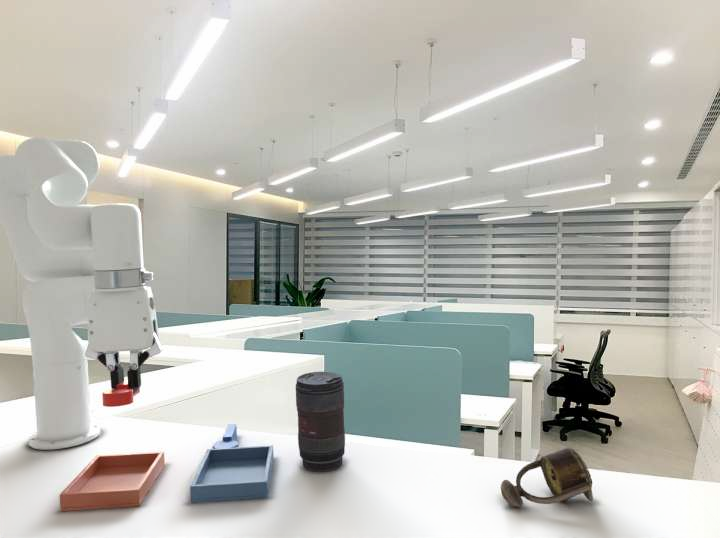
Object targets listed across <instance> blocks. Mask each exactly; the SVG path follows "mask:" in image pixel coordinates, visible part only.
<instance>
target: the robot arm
mask: <svg viewBox="0 0 720 538" xmlns="http://www.w3.org/2000/svg"><path fill="white" fill-rule="evenodd" d="M98 155H99V154H98V152H97V151H96V150H95V149H94V147H93V146H92V145H91V144H89V143H88V142H86V141H82V140H77V139H75V140H74V139H65V138H55V137H43V136H42V137H41V136H40V137H39V136H38V137H30V138H27V139H26V140H23V141H21V143H20V144H19V145H17V147H16V150H15V154H5V155H0V225H1V227H2V229H3V230H4V232H5V235H6V237H7V241H8V243H9V246H10V250H11V253H12V255H13V257H14V260H15V263H16V266H17V268H18V271H19V273H20V275H22V277H23V278H24V279H25V280H26V281H29V282H32V283H30V284H29V285H28V286H26V288H25V289H24V291H23V293H22V296H21V301H22V303H21V304H22V309H23V314H24V317H25V321H26V325H27V329H28V334H29V342H30V350H31V363H32V378H33V390H34V406H35V419H36V421H35V422H36V431H35V432H34V433H32V434H31V435H30V436H29V437H28V441H27V442H28V446H29V447H31V448H32V449H36V450H44V451H45V450H47V451H50V450H61V449H66V448H73V447H76V446H79V445H83V444H86V443H88V442H91V441H93V440H94V439H96V438H97V437H99V436H100V434H101V426H100V425H99V424H98V423H95V422H92V413H93V412H94V407H93V406H92V405H91V397H90V396H91V395H90V379H89V364H88V362H89V361H88V358H89V359H91V360H96V361H99V362H100V364H102V365H103V366H105V367H106V369H107V371H108V372H109V375H110V389H111V390H112V389H117V385H118V384H119V383H121V382H123V381H125V370H124V369H125V368H124V367H123V366H122V364H121V362H120V361H121V360H120V359H121V358H120V352H129V364H130V365H129V369H128V370H127V375H126V376H127V379H128V384H129V388H130V389H133V394H134V393H136V392H137V391H138V388H140V389H141V387H142V375H141V374H142V373H141V366H142V365H143V364H144V363H145V362H146V361H147V360H148V359H150V358H152V357H155V356H157V355H159V354H160V353H162V352H163V347H162V345H161V343H160V340H159V325H158V317H157V309H156V305H155V299H154V296H153V291H152V288H151V286H146V285H147V283H148V282H151V281H154V279H155V275H154V272H149V271H147V270H146V268H145V261H144V259H145V258H144V244H143V241H144V240H143V228H142V227H143V226H142V213H141V210H140V208H139V207H138V206H137V205H135V204H131V203H101V204H79V203H80V202H82V200H83V199H84V198H85V197H86V195H87V193H88V189H89V186H90V185H91V184H92V183H94V182H95V180H96V179H97V177H98V175H99V174H100V167H101V166H100V157H99V156H98ZM84 324H85V325H86V324H87V343H88V344H87V346H86V343H85V342H84V340H83V339H82V338H81V337H80V336H79V335H78V334H77V333H76V332H75V331H74V329H73V328H72V327H74V326H79V325H84Z"/></svg>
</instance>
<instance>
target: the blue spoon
mask: <svg viewBox="0 0 720 538" xmlns="http://www.w3.org/2000/svg"><path fill="white" fill-rule="evenodd" d="M237 429H238V428H237V424H236V423H228V424H227V426H226V428H225V430H224V433H223V435H222V440H219V441H216V442H215V443H213V444H212V449H219V448H236V447H239V442H238V441H237V437H238V432H237V431H238V430H237Z"/></svg>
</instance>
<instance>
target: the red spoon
mask: <svg viewBox="0 0 720 538" xmlns="http://www.w3.org/2000/svg"><path fill="white" fill-rule="evenodd" d="M140 391H141V387H140V388H138V391H137V392H136V393H134V394H133V389H130V388H129V384H128V378H127V379H124V381H123V382H121V383H119V384H118V385H117V389H112V388H111V389H108V390H105V391H102V406H103V407H107V408H115V407H123V406H128V405H131V404H133V403H134V397H135V396H136V395H138V394H139V393H141V392H140Z"/></svg>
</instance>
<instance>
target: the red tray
mask: <svg viewBox="0 0 720 538" xmlns="http://www.w3.org/2000/svg"><path fill="white" fill-rule="evenodd" d="M165 466H166V463H165V451H152V452H151V451H149V452H134V453H118V454H103V455H102V454H101V455H98V454H97V455H96V456H95V457H93V458H92V460H91V461H90V462H89V463H88V464H87V465H86V466H85V467H84V468H83V469H82V470H81V471H80V472H79V473H78V475H77V476H76V477H75V478H73V480H72V481H71V482H70V483H69V484H68V485H67V486H66V487H65V488H64V489H63V490H62V492H60V494H59V507H60V508H59V509H60V510H59V511H60V512H70V511H85V510H86V511H87V510H101V509H103V510H104V509H116V508H131V507H132V508H134V507H141V505H142V503H143V502H144V500H145V499H146V497H147V495H148V494H149V492H150V491H151V488H152V487H153V485H154V484H155V483H156V481H157V479H158V478H159V476H160V474H161V473H162V471H163V470H164V468H165Z"/></svg>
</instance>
